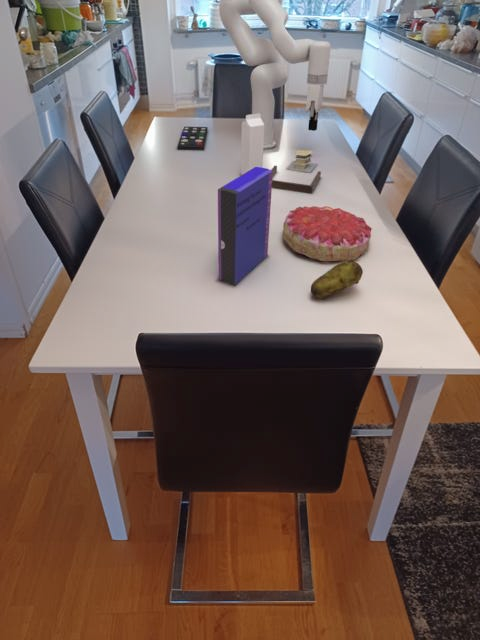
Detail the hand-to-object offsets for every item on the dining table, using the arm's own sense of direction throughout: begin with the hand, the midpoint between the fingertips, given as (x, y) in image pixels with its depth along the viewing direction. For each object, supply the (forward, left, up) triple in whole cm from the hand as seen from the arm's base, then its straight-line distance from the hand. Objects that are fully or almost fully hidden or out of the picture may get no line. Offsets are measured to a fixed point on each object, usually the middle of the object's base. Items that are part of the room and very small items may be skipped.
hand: (312, 129), depth 186 cm
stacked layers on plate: (+4, -11, -11) cm, 16 cm away
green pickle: (+58, -82, -12) cm, 101 cm away
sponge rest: (+9, -27, -11) cm, 31 cm away
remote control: (-53, -14, -11) cm, 56 cm away
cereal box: (+34, -87, -11) cm, 94 cm away
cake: (+43, -61, -11) cm, 75 cm away
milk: (-6, -33, -11) cm, 35 cm away
